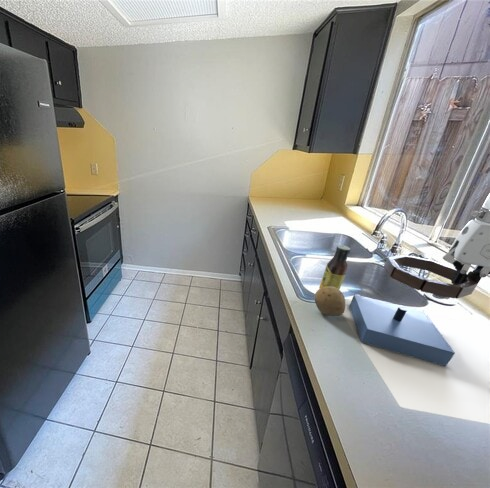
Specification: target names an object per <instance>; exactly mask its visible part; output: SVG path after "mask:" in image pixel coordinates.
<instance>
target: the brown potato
mask: <svg viewBox="0 0 490 488" xmlns="http://www.w3.org/2000/svg"><path fill="white" fill-rule="evenodd" d="M313 298H314V300H313V301H314V303H315V305H316V307H317V310H318V311H319V312H320V313H321V314H323V315H325V316H341V315H343V314H344V313H345V310H346V298H345V295H344V293H343V291H341V289H340V290H339V289H337V288H335V287H331V286H328V287H323V288H321V289H319V288H318V289H317V290H316V292H315V293H314V295H313Z"/></svg>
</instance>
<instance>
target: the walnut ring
mask: <svg viewBox="0 0 490 488" xmlns="http://www.w3.org/2000/svg"><path fill="white" fill-rule="evenodd" d="M402 267H405V268H411V269H417V270H423V271H426V272H430V273H432V274H435V275H437V276H439V277H442V278H444V279H447V280H449V281H451V278H452V277H453V275H454V273H455V272H456V270H457V269H456V268H455V267H454V266H453V267H452V266H450V265H447V264H444V263H442V262H439V261H436V260H433V259H430V258H424V257H419V256H414V255H413V256H412V255H408V254H407V255H406V254H398V255H397V254H396V255H393V256H392V255H391V256H387V258H386V260H385V263H384V265H383V268H384V270H385V271H386V274H387V275H388V276H389V277H390V278H391V279H393V280H395V281H397V282H400V283H402V284H404V285H406V286H408V287H410V288H412V289H414V290H416V291H420V292H422V293H427V294H431V295H436V296H441V297H445V298H450V299H456V300H457V299H460V298H464V297H468V296H470V295H472V294H473V292H474V290H475V289H476V288H477V286H478V284H477V282H475V281H474V280H473V279H472V278H471V277H469V276H468V277H467V279H466V280H465V282H464V283H462V284H458V285H454V284H452V283H449V282H443V281H438V280H434V279H433V280H432V279H428V278H425V277H422V276H420V275H418V274H416V273H413V272H411V271H408V270H406V269H403V268H402Z"/></svg>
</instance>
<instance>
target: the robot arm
mask: <svg viewBox="0 0 490 488" xmlns="http://www.w3.org/2000/svg"><path fill="white" fill-rule="evenodd" d="M470 216H471V217H474V219H471V220H470V221H468V222H467V224H465V226H464V227H463V228H462V229H461V231H460V232H459V233H458V234H457V236H456V237H455V239H454V241H453V242H452V244H451V245H450V247H449V250H448V252H447V253H446V254H444V255H443V256H442V259H443V260H444V261H445V262H447V263H449V264H451V265H453V268H455V269H457V270H456V272H455V273H454V275H453V277H452V278H451V280H450V281H451V283H450V284H454V285H458V284H462V283H464V282H465V280H466V279H467V277H468V276H469V277H471V278H472V279H473V280H474V281H475V282H477V285H479V283H480V281H481V279H482V278H486V277H487V276H488V275H490V193H489V194H488V196H487V197H486V199H485V201H484V203H483V205H482V206H481V207H480V208H479V209H478V210H475V209H474V210H472V211H471V212H470ZM472 265H473V266H474V269H473V270H472V271H471V270H470V271H469V269H470V268H471V266H472Z"/></svg>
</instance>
